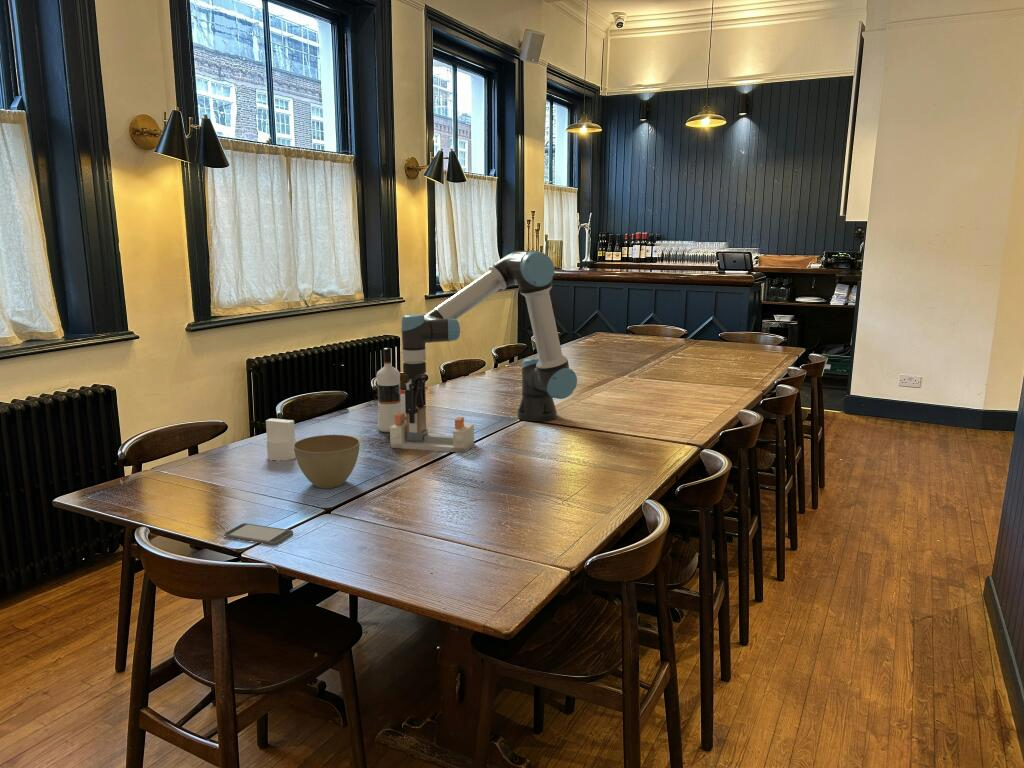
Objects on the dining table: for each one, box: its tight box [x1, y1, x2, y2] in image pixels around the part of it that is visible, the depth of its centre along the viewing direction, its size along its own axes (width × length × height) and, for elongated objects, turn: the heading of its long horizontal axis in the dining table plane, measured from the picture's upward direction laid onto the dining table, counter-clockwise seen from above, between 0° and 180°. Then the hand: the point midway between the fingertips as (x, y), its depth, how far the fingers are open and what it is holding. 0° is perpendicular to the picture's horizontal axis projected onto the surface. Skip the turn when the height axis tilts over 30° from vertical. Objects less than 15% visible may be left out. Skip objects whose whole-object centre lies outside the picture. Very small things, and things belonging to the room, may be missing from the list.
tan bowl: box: [294, 434, 361, 489], centre depth 208 cm, size 18×18×12 cm
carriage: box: [405, 405, 429, 441], centre depth 246 cm, size 6×5×11 cm
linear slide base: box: [389, 416, 475, 453], centre depth 245 cm, size 26×10×10 cm, turn 76°
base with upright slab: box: [265, 418, 297, 462], centre depth 234 cm, size 9×9×12 cm
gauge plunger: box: [394, 413, 406, 425], centre depth 247 cm, size 2×4×3 cm, turn 166°
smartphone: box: [223, 522, 294, 546], centre depth 174 cm, size 7×1×15 cm
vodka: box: [376, 347, 401, 434], centre depth 263 cm, size 9×9×30 cm
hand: (416, 429), depth 246 cm, fingers closed on carriage, 5 cm apart
